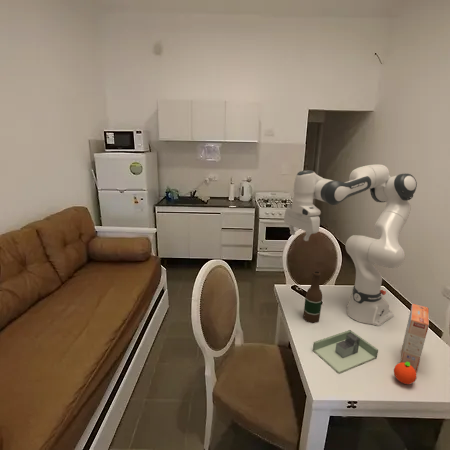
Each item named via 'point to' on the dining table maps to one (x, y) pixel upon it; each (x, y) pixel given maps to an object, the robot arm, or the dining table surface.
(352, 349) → the bracket
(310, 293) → the beer bottle
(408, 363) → the clementine
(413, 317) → the cracker box
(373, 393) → the dining table surface
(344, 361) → the tray
